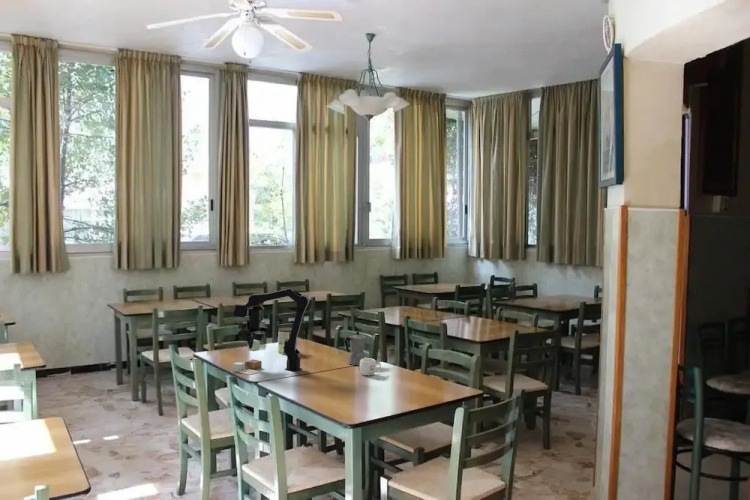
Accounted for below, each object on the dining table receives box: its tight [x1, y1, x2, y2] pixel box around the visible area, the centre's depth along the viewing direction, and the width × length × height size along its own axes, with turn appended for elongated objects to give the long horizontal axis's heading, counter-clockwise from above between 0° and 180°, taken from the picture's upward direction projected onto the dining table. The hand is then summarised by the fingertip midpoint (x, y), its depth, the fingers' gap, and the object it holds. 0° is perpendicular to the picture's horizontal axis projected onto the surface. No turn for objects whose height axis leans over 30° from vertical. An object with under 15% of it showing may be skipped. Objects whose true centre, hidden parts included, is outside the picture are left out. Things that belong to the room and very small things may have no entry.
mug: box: [359, 357, 382, 376], centre depth 330 cm, size 12×8×8 cm
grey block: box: [232, 361, 246, 373], centre depth 330 cm, size 4×4×4 cm
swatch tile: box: [239, 369, 260, 376], centre depth 327 cm, size 7×7×1 cm
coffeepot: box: [343, 331, 368, 366], centre depth 352 cm, size 15×9×18 cm, turn 129°
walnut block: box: [244, 359, 263, 371], centre depth 336 cm, size 6×6×4 cm
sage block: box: [246, 339, 261, 352], centre depth 335 cm, size 4×4×5 cm
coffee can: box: [277, 326, 292, 355], centre depth 377 cm, size 10×10×14 cm
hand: (253, 347), depth 336 cm, fingers closed on sage block, 4 cm apart
